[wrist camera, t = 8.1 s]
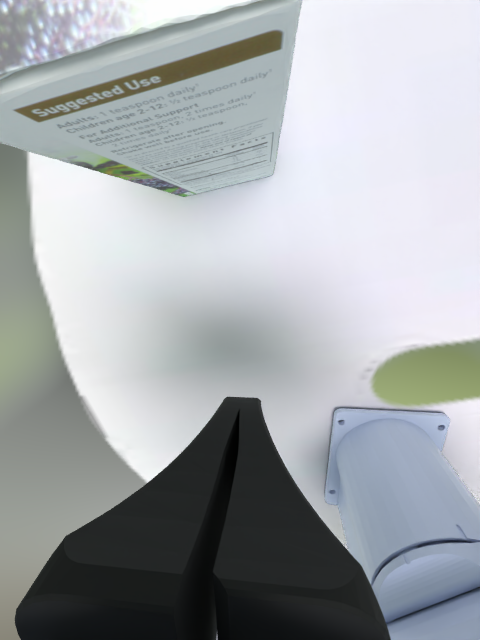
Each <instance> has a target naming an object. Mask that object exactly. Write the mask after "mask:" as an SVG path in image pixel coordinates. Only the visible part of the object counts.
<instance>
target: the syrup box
mask: <svg viewBox="0 0 480 640" xmlns="http://www.w3.org/2000/svg"><path fill="white" fill-rule="evenodd" d="M301 5H302V0H0V143H3V144H6V145H10V146H14V147H16V148H19V149H22V150H26V151H29V152H32V153H36V154H39V155H42V156H46V157H49V158H53V159H57V160H60V161H63V162H67V163H71V164H74V165H78V166H82V167H85V168H88V169H91V170H95V171H99V172H101V173H105V174H108V175H111V176H115V177H119V178H122V179H125V180H128V181H132V182H135V183H139V184H143V185H146V186H150V187H153V188H156V189H160V190H163V191H166V192H169V193H173V194H176V195H179V196H183V197H185V196H189V195H194V194H198V193H202V192H206V191H210V190H214V189H218V188H222V187H226V186H230V185H234V184H239V183H243V182H247V181H251V180H256V179H260V178H264V177H268V176H271V175H273V173H274V168H275V164H276V158H277V150H278V145H279V137H280V132H281V127H282V122H283V116H284V110H285V104H286V98H287V91H288V86H289V78H290V73H291V66H292V59H293V53H294V47H295V39H296V32H297V28H298V19H299V15H300V10H301Z"/></svg>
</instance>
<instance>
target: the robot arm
mask: <svg viewBox="0 0 480 640" xmlns="http://www.w3.org/2000/svg"><path fill="white" fill-rule="evenodd" d="M339 420H343V421H342V422H338V421H339ZM449 424H450V419H449V417H448V416H447V415H446V414H444V413H429V412H408V411H387V410H366V409H345V408H340V409H337V410H336V411H335V412H334V418H333V427H332V436H331V444H330V453H329V462H328V470H327V479H326V488H325V501H326V503H328V504H331V505H338V508H339V512H340V516H341V520H342V525H343V529H344V533H345V537H346V541H347V545H348V550H349V551H348V550H347V549H346V548H345V547H344V546H343V545H342V544H341V542H340V541H339V540H338V539H337V538H336V537H335V535H334V534H333V533H332V532H331V531H330V529H329V528H328V527H327V526H326V524H325V523H324V522H323V521H322V520H321V518H320V517H319V516H318V514H317V513H316V512H315V510H314V509H313V507H312V506H311V505H310V503H309V502H308V501H307V499H306V498H305V496H304V495H303V494H302V492H301V491H300V489H299V488H298V486H297V485H296V483H295V482H294V480H293V478H292V477H291V475H290V473H289V472H288V470H287V468H286V467H285V465H284V463H283V461H282V459H281V457H280V455H279V453H278V451H277V449H276V447H275V445H274V443H273V441H272V438H271V436H270V433H269V431H268V428H267V426H266V423H265V420H264V416H263V413H262V408H261V401H260V400H259V399H258V398H244V397H226V398H225V399H224V400H223V402H222V404H221V405H220V407H219V408H218V410H217V411H216V412H215V414H214V415H213V417H212V418H211V419H210V421H209V422H208V423H207V424H206V426H205V427H204V428H203V429H202V431H201V432H200V433H199V434H198V435H197V436H196V438H195V439H194V440H193V441H192V442H191V443H190V444H189V445H188V446H187V448H186V449H185V450H184V451H183V452H182V453H181V454H180V455H179V456H178V457H177V458H176V459H175V460H174V461H172V462H171V463H170V464H169V465H168V466H167V467H166V468H165V469H164V470H163V471H161V472H160V473H159V474H158V475H157V476H155V477H154V478H153V479H152V480H151V481H149V482H148V483H147V484H146V485H145V486H143V487H142V488H141V489H139V490H138V491H136V492H135V493H134V494H132V495H131V496H130V497H128V498H127V499H125V500H124V501H122V502H121V503H120V504H118V505H117V506H115V507H114V508H112V509H111V510H109V511H107V512H106V513H104V514H103V515H101V516H99V517H98V518H96V519H94V520H93V521H91V522H89V523H87V524H86V525H84V526H82V527H81V528H79V529H77V530H76V531H74V532H72V533H70V534H69V535H67V536H66V537H65V538H64V539H63V541H62V542H61V544H60V545H59V546H58V548H57V549H56V550H55V551H54V553H53V554H52V556H51V557H50V558H49V560H48V561H47V563H46V565H45V566H44V567H43V569H42V570H41V572H40V574H39V575H38V577H37V578H36V580H35V581H34V583H33V584H32V586H31V588H30V589H29V591H28V592H27V594H26V596H25V597H24V598H23V600H22V601H21V603H20V605H19V606H18V608H17V609H16V615H15V625H16V628H17V632H18V635H19V637H20V638H21V640H216V635H217V634H218V640H480V504H479V503H478V502H477V500H476V499H475V498H474V496H473V495H472V494H471V492H470V491H469V489H468V488H467V487H466V485H465V484H464V483H463V481H462V480H461V479H460V477H459V476H458V474H457V473H456V472H455V470H454V469H453V468H452V466H451V465H450V464H449V462H448V461H447V460H446V458H445V457H444V455H443V454H442V453H441V452H442V448H443V445H444V441H445V438H446V434H447V431H448V427H449ZM439 425H441V426H440V427H438V426H439Z"/></svg>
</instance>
